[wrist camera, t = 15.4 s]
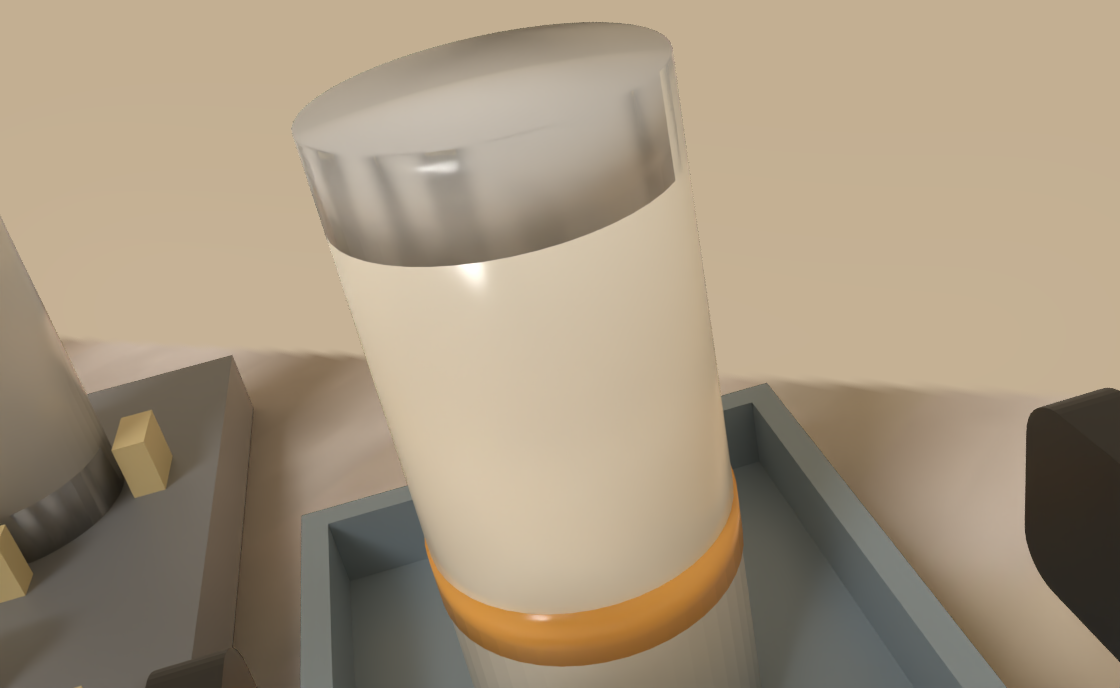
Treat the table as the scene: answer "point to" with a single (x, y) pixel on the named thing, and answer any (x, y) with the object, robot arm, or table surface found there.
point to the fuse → (45, 426)
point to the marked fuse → (544, 350)
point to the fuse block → (141, 543)
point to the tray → (770, 563)
